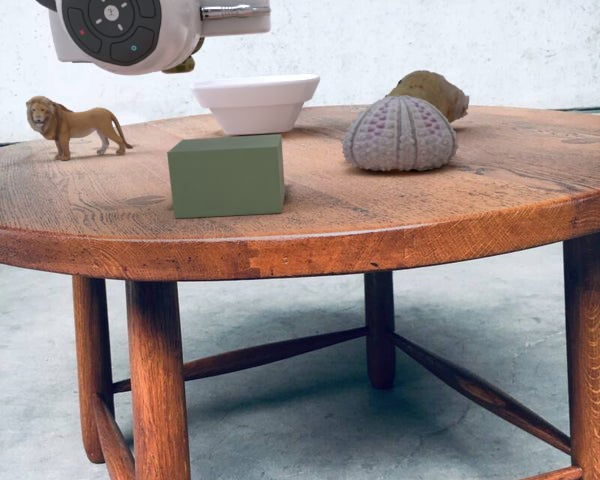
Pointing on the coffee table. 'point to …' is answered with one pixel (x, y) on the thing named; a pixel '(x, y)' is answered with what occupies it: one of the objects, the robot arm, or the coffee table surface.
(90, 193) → the coffee table surface
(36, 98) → the lion figurine
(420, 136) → the sea urchin shell
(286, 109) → the bowl
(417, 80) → the mineral
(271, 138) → the block
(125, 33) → the robot arm
